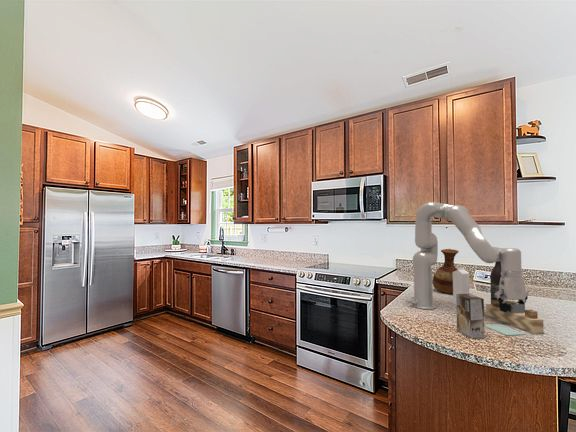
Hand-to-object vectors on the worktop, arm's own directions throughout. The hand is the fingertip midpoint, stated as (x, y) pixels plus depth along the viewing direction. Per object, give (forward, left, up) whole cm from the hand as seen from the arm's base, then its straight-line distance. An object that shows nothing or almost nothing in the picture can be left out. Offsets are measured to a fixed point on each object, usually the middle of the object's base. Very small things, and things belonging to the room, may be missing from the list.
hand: (512, 311), depth 132 cm
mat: (-11, -6, -6) cm, 14 cm away
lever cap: (0, 0, 0) cm, 0 cm away
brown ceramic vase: (+15, +62, -6) cm, 64 cm away
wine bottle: (+8, +15, -6) cm, 18 cm away
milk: (0, +32, -6) cm, 33 cm away
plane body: (0, 0, -6) cm, 6 cm away
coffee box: (-29, -8, -6) cm, 31 cm away
